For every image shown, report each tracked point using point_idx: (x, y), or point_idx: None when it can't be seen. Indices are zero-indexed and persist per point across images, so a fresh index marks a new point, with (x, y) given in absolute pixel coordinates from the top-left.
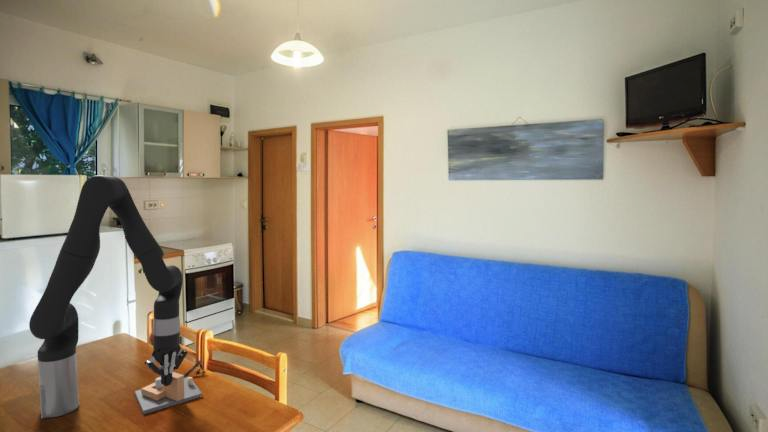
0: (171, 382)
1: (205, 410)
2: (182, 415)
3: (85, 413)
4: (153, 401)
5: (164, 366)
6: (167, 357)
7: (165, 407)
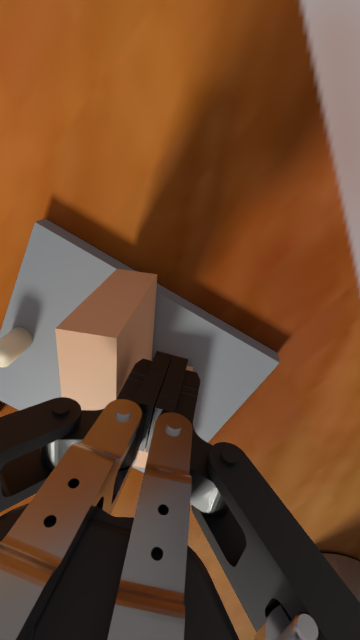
0: (130, 368)
1: (129, 69)
2: (223, 166)
3: (326, 519)
4: (200, 378)
5: (190, 499)
6: (125, 627)
7: (198, 308)
